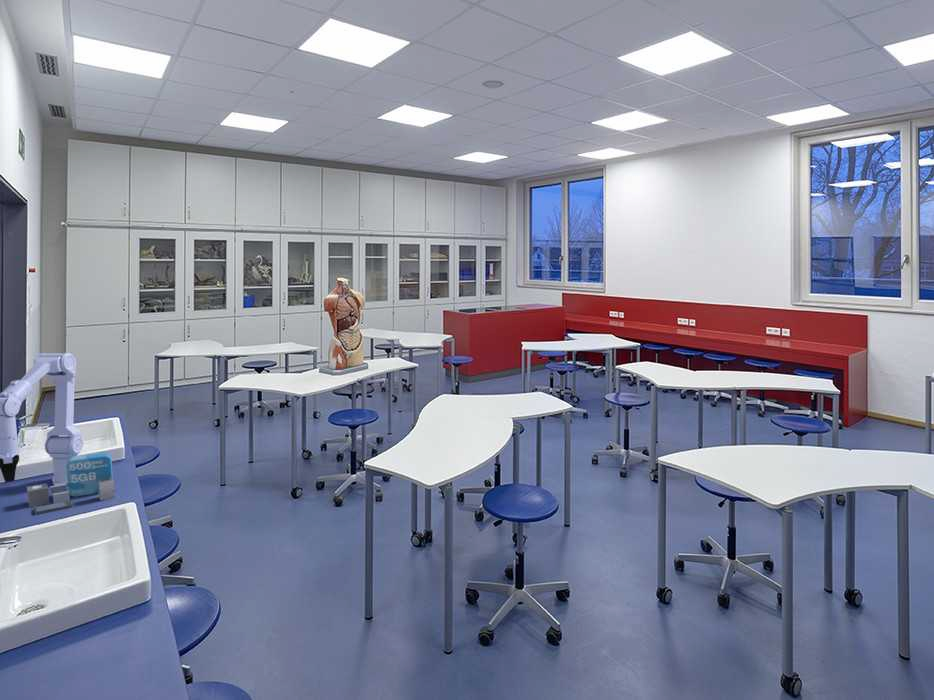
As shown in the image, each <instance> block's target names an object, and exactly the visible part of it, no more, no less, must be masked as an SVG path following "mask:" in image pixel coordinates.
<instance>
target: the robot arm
mask: <svg viewBox="0 0 934 700" xmlns="http://www.w3.org/2000/svg"><path fill="white" fill-rule="evenodd" d="M76 373H77V359H76V357H74V355H73V353H69V352H66V353H60V352H58V353H50V352H49V353H46V352H41V353H39V354H37V356H36V357H35V358H33V364H32V366H31V367H30V369H29V370H28V371H27V372H26V373H25V375H24V376H23V377H22V378H21V379H15V380H12V381H11V382H10V383H9V385H8V386H7V387H6V388H5V389H4V390H3V391H2V392H0V472H1V474H2V478H3V481H4V482H5V483H8V482H9V483H10V482H14V481H15V477H16V469H17V466H18V463H19V462H20V454H19V453H20V448H19V440H18V430H17V420H16V419H17V418H16V415H17V414H19V412H20V409H21V406H22V403H23V402H24V401H25V400H26V398H27V397H29V395H31V394H32V392H33V388H32V387H33V386H34V385H35V384H37V383H38V382H39V381H41V379H42V378H43V377H45V376H47V377H50V378H51V379H53V380H54V381H55V390H54V391H55V392H54V393H55V395H54V396H55V397H54V398H55V399H54V424H53V425H54V427H53V428H51V430H49V431H48V432H47V433H46V439H45V442H44V451H45V452H46V454H48V455H49V458H51V459H52V469H53V470H52V471H53V476H52V477H51V481H52V484H53V486H56V485H61V484H66V485H68V480H67V469H66V464H67V462H68V460H69V459H70V458H71V457H76V456H79V454H81V451H82V450H83V447H84V441H83V439H82V431H80V430H79V429H77V428H76V427H74V416H75V415H74V414H75V413H74V412H75V409H74V407H75V381H76V380H75V378H76V377H77V374H76Z"/></svg>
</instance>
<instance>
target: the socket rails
mask: <svg viewBox="0 0 934 700" xmlns="http://www.w3.org/2000/svg"><path fill="white" fill-rule="evenodd" d="M49 488H50V495H51V496H50V497H52V500H53V504H55V503H60V502H65V501H70V502H71V498H70V497H71V496H70V495H69V491H68V490H67V489H68V487H67V484H61V485H56V486H54V485H51V486H50V487H49Z"/></svg>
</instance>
